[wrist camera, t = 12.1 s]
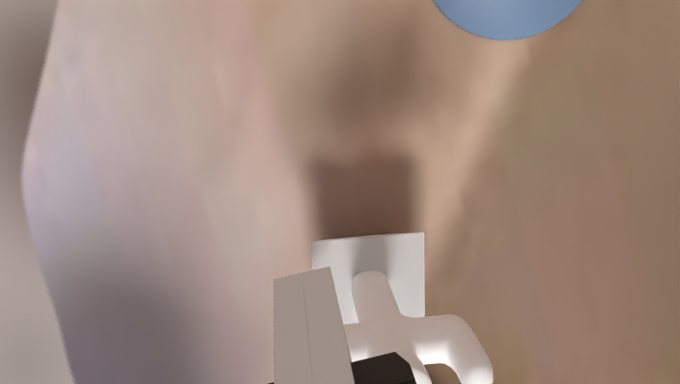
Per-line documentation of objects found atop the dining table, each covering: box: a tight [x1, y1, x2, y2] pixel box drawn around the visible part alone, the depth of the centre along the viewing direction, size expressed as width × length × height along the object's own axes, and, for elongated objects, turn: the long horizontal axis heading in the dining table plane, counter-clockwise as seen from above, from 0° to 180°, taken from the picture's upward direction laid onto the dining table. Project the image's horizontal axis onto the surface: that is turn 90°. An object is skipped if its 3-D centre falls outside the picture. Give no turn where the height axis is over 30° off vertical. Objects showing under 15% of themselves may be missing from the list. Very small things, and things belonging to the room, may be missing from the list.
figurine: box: [311, 232, 493, 384], centre depth 36 cm, size 7×9×15 cm
